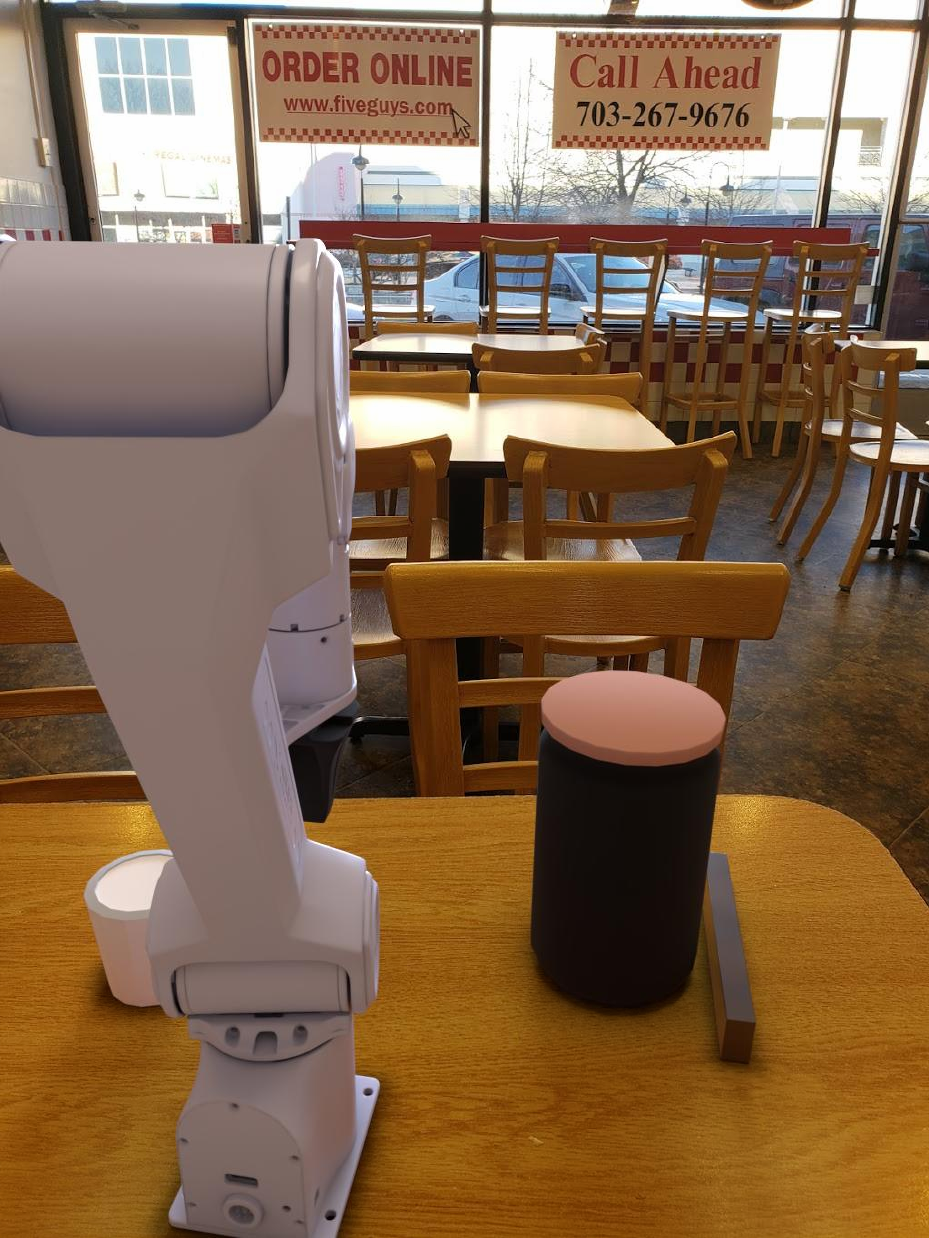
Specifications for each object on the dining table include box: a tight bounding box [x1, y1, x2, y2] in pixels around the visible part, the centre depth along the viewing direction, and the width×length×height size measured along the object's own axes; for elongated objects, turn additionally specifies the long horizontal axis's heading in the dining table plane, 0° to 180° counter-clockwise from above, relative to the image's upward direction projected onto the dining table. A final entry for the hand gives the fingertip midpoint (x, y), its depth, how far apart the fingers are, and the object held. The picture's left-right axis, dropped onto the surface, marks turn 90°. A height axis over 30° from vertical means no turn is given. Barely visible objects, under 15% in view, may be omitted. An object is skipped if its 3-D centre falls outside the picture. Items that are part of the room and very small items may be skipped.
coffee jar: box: [529, 669, 727, 1009], centre depth 58 cm, size 11×11×18 cm
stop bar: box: [702, 851, 757, 1064], centre depth 60 cm, size 16×2×3 cm, turn 171°
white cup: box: [83, 848, 174, 1008], centre depth 58 cm, size 7×7×7 cm
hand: (311, 816), depth 59 cm, fingers closed
